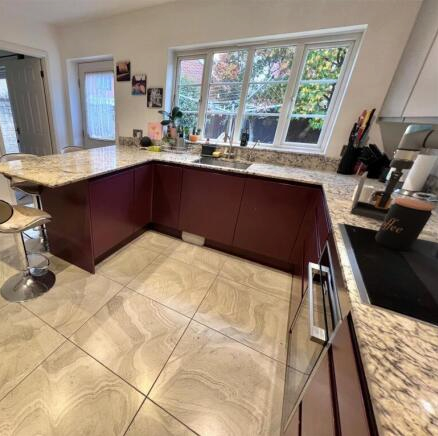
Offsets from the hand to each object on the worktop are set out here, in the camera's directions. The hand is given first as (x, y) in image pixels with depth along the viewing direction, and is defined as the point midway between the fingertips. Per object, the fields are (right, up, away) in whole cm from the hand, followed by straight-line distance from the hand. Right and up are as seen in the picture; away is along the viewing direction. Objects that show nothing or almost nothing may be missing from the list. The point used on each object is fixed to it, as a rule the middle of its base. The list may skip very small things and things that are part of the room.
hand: (381, 205), depth 118 cm
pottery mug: (+21, +3, +23) cm, 31 cm away
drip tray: (-2, -5, +4) cm, 6 cm away
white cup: (+8, +3, +22) cm, 24 cm away
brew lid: (-7, +9, +4) cm, 12 cm away
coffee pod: (0, -1, 0) cm, 1 cm away
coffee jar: (-22, -17, -25) cm, 37 cm away
